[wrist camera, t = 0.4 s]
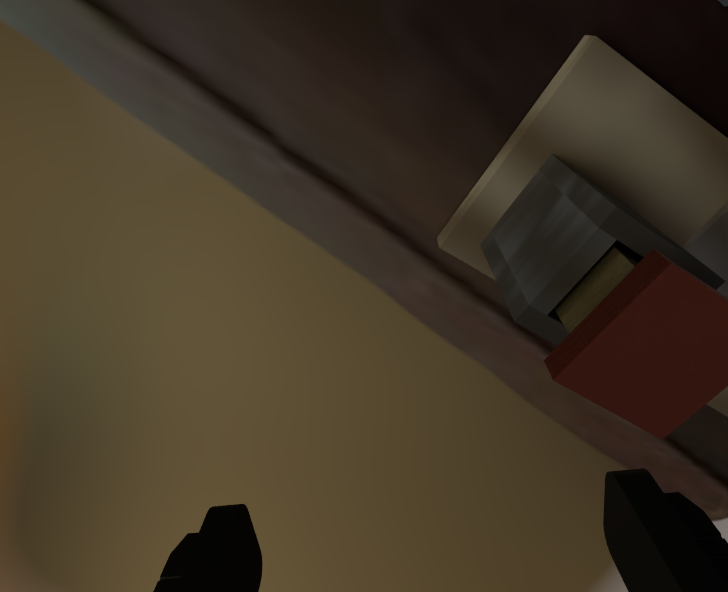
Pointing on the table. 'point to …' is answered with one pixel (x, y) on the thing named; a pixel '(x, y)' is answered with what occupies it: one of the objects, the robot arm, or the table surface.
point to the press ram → (643, 339)
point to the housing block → (724, 2)
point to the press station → (596, 190)
